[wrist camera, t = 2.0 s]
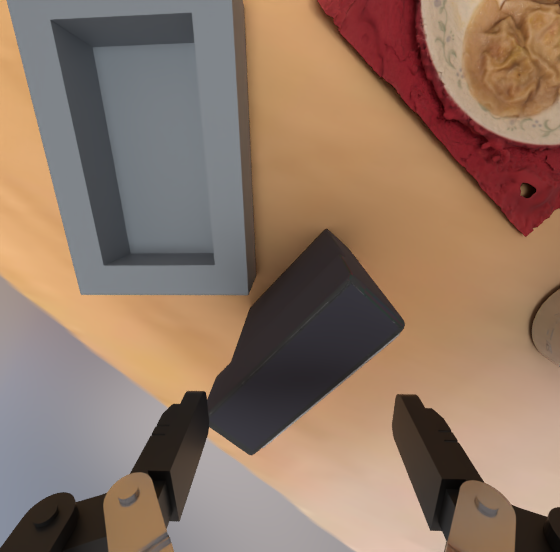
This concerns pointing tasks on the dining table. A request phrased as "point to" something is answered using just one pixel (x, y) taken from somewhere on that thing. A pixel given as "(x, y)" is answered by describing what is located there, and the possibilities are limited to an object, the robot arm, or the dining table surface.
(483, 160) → the plate with food
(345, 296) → the dark bevelled slab
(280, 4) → the dining table surface
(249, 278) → the tray
